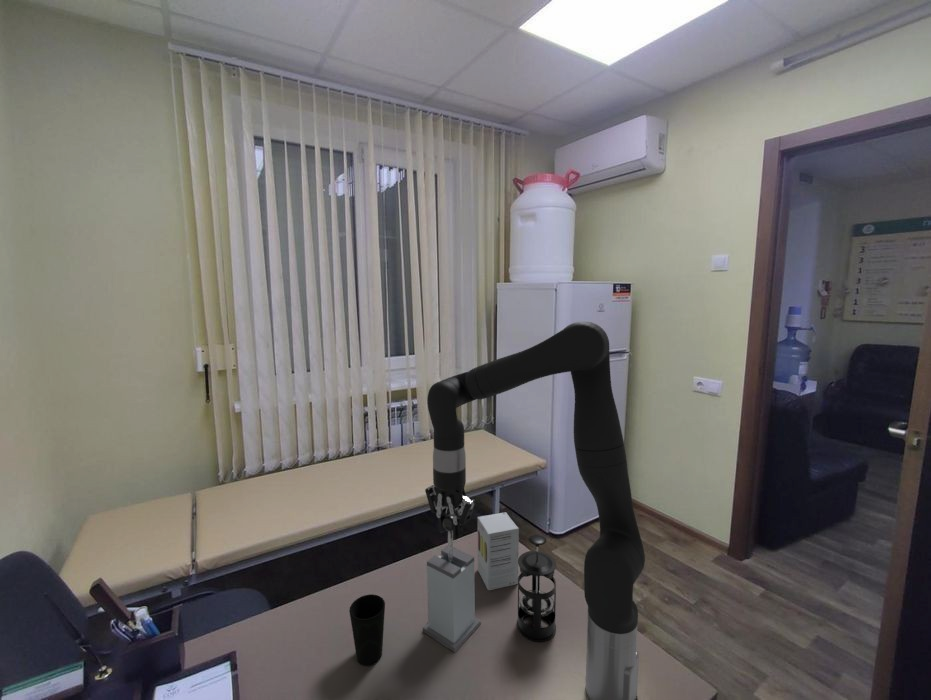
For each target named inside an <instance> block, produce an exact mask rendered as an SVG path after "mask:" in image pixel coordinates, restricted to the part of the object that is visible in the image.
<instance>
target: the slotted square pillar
mask: <svg viewBox="0 0 931 700" xmlns="http://www.w3.org/2000/svg"><path fill="white" fill-rule="evenodd" d="M426 580H427V582H426V584H427V623H426V624H425V625H423V626H422V632H423V633H425V634H427V636H430V638H432V639H433V640H435V641H437V642H438V643H440V644H441V645H442V646H444V647H446V648H447V649H450V651H453V652H454V653H457V651H458V650H459V649H460V648H461V647H462V645H464V643H466V641H467V640H468V639H469V638H470V637H471V636H472V634H473V633H474V632H475V631H476V630H477V629H478V628H480V627H479V626H481V623H482V622H481V619H478V618H476V612H475V611H476V609H475V608H476V607H475V606H476V605H475V604H476V602H475V601H476V600H475V599H476V597H475V594H476V593H475V592H476V591H475V585H476V584H475V556H474V555H471V554H469V553H467V552H465V551H462V550H460V549H458V548H457V547H454V546H453V564H451V563H449V562H448V545H446V546H445V547H443V549H441V550H440V555H438V556H437V555H433V556H432V557H431V558H429V559H427V560H426Z"/></svg>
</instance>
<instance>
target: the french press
mask: <svg viewBox="0 0 931 700" xmlns="http://www.w3.org/2000/svg"><path fill="white" fill-rule="evenodd" d="M528 541H529V543H530V544H532V545H535V547H536V550H529V551H526V552H523V553H522V554H520V555H519V556H518V568H519V570H520V574H518V584H517V619H516V628H517V630H518V632H519V634H520V636H522V637H524V638H525V639H526V640H528V641H530V642H535V643H545V642H547V641H548V642H549V641H550V640H551V639H553V638H554V636H555V635H556V632H557V625H556V599H557V595H556V593H557V592H556V591H557V588H556V587H557V581H556V579H555V577H554V576H555V570H556V569H557V561H556V559H555V558H554V557H553V556H552V555H550V554H549V553H546V552H544V551H540V550H539V547H540V546H542V545H545V544H546V543H547V538H546V537H545V536H544V535H542V534H530V535H529V537H528ZM531 576H532V577H531ZM524 577H525V578H526V577H531V585H532V586H531V590H526V589H525V588H524V587H523V586H522V585H521V583H520V581H521V580H522V579H523V578H524ZM540 577H545V578H547V579H549V580H550V581H551V582H552V584H553V585H554V586H553V588H552V589H551V590H550V591H548V592H544V591H542V590H540V587H541V586H540V585H541V583H540V581H541V578H540ZM520 592H521V593H522V594H520ZM552 597H553V598H552ZM528 616H531V617H533V618H532V619H533V621H532V623H533V625H532V626H530V625H528V624H527V623H525V622H524V620H525V619H526V617H528ZM542 618H544V619H546V621H548V622H549V625H548V626H544V627H542Z"/></svg>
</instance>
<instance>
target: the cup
mask: <svg viewBox="0 0 931 700" xmlns="http://www.w3.org/2000/svg"><path fill="white" fill-rule="evenodd" d="M385 610H386V602H385V599H384V598H383V597H381V596H380V595H377V594H373V593H372V594H365V595H362V596H359V597H357V598H356V599H355V600H353V602H352V603H351V605H350V607H349V616H350V623H351V631H352V636H353V637H352V638H353V643H354V648H355V655H356V656H355V657H356V661H357V663H358V665H360V666H362V667H370V666H373V665H376V664H377V663H379V662H380V660H381V658H382V656H383V646H384V644H383V643H384V642H383V641H384V630H385V626H384V625H385Z"/></svg>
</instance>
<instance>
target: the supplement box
mask: <svg viewBox="0 0 931 700" xmlns="http://www.w3.org/2000/svg"><path fill="white" fill-rule="evenodd" d="M519 529H520V528H519V527H518V526H517V525H516V523H515V522H514V521H513V520H512V518H511V517H510V516H509V514H508V512H506V511H505V512H500V513H494V514H493V513H492V514H488V515H481V516H477V571H478V573H479V575H480V577H481V579H482V581H483V584H484V586H485V587H486V590H487V591H493V590H498V589H502V588H506V587H511V586H515V585H518V577H519V564H518V559H519V549H520V547H519V543H520V537H519V536H520V530H519Z"/></svg>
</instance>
